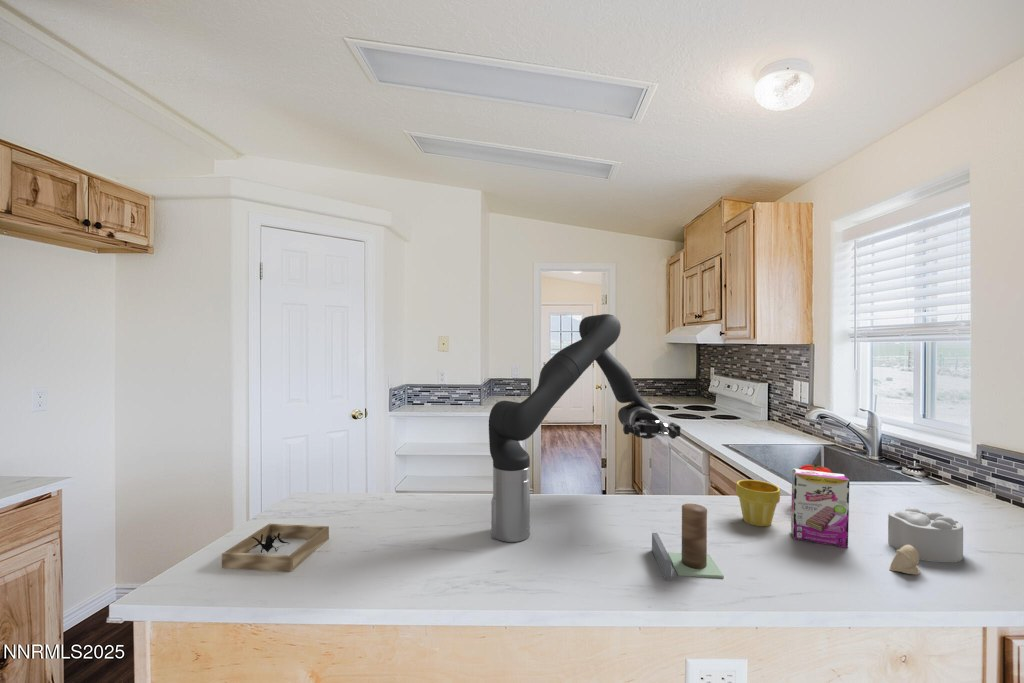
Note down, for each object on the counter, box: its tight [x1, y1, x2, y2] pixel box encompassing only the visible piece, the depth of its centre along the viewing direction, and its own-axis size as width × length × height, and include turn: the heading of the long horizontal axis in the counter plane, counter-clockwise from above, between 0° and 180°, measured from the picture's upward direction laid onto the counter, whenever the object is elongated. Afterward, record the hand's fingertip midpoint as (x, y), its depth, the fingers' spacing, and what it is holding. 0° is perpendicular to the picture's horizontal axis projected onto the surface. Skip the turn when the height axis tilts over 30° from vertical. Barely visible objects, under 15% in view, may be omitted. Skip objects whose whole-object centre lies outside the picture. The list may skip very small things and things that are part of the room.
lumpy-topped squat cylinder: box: [887, 507, 964, 563], centre depth 103 cm, size 10×13×9 cm
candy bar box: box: [790, 468, 850, 549], centre depth 108 cm, size 11×5×16 cm, turn 65°
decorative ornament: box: [888, 545, 921, 575], centre depth 94 cm, size 4×8×5 cm, turn 122°
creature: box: [251, 529, 291, 554], centre depth 103 cm, size 8×5×8 cm
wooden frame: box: [221, 523, 330, 573], centre depth 102 cm, size 16×16×3 cm
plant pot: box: [735, 479, 781, 527], centre depth 119 cm, size 10×10×10 cm
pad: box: [667, 551, 725, 579], centre depth 96 cm, size 9×9×1 cm
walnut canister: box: [681, 503, 708, 569], centre depth 96 cm, size 5×5×12 cm
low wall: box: [651, 532, 672, 581], centre depth 97 cm, size 1×13×4 cm, turn 174°
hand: (656, 434), depth 111 cm, fingers open, 8 cm apart
